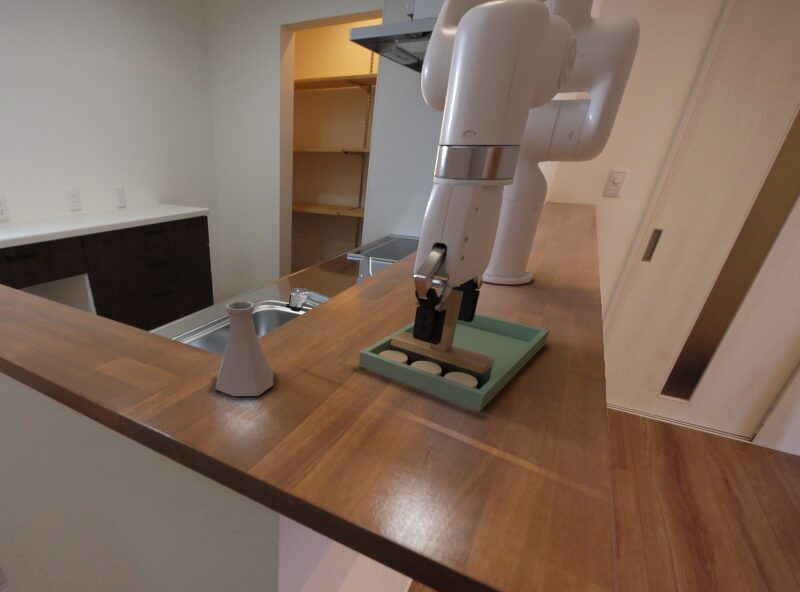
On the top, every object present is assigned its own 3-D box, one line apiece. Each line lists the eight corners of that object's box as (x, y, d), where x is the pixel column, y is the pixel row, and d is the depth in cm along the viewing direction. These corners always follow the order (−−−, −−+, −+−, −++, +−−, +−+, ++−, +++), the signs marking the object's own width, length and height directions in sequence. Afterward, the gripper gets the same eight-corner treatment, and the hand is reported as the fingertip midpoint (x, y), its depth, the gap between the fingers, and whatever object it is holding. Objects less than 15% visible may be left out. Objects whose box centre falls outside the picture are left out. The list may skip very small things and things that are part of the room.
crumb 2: (416, 368, 54) (418, 357, 53) (444, 377, 52) (446, 366, 51) (403, 379, 52) (405, 368, 51) (432, 388, 50) (434, 377, 49)
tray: (440, 320, 70) (443, 304, 69) (544, 347, 61) (549, 330, 59) (358, 369, 55) (359, 351, 54) (478, 415, 46) (484, 395, 44)
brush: (400, 351, 58) (410, 279, 53) (489, 380, 51) (510, 300, 46) (388, 358, 56) (398, 284, 51) (479, 389, 49) (500, 307, 44)
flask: (229, 366, 56) (223, 292, 51) (282, 373, 54) (281, 297, 49) (204, 393, 50) (195, 312, 45) (263, 402, 48) (259, 319, 43)
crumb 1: (389, 358, 57) (391, 347, 56) (412, 367, 54) (413, 357, 53) (371, 365, 55) (372, 355, 54) (393, 376, 52) (395, 365, 51)
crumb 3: (448, 379, 51) (450, 368, 51) (479, 388, 49) (481, 377, 49) (437, 392, 49) (439, 380, 48) (469, 402, 47) (472, 390, 46)
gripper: (472, 162, 50) (446, 304, 59) (396, 169, 39) (377, 343, 48) (542, 164, 46) (502, 317, 54) (477, 173, 35) (440, 363, 43)
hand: (443, 329), depth 51 cm, fingers open, 8 cm apart
